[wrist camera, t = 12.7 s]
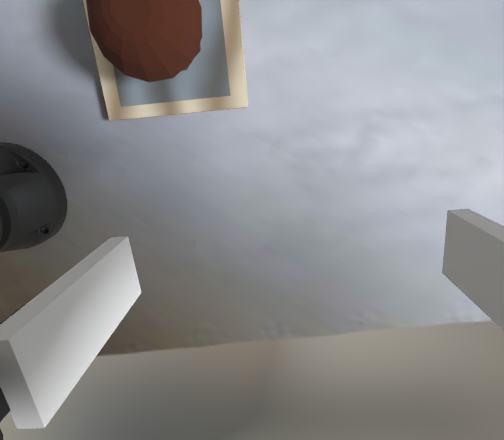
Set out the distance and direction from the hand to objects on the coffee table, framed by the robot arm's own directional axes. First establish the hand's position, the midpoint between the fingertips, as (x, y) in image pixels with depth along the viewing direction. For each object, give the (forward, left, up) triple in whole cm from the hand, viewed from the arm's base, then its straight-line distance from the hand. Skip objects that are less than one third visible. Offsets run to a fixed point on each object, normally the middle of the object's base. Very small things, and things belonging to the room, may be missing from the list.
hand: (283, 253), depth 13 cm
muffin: (-12, +15, -30) cm, 36 cm away
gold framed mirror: (-12, +15, -32) cm, 37 cm away
